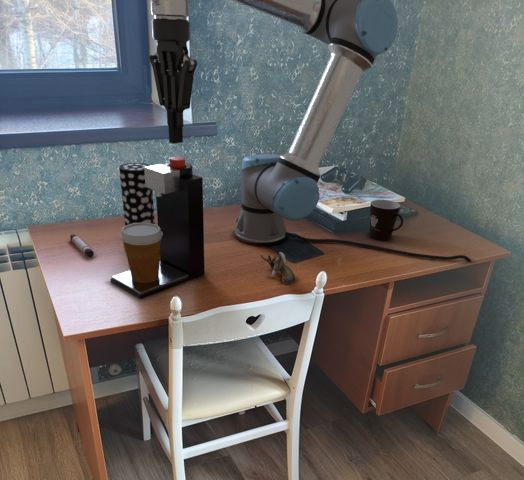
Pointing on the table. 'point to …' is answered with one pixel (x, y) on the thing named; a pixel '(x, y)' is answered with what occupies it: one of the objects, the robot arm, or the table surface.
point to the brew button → (177, 162)
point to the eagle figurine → (280, 268)
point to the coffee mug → (383, 219)
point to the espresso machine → (169, 277)
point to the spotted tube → (136, 194)
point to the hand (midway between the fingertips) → (176, 142)
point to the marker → (81, 245)
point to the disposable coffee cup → (142, 250)
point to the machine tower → (183, 225)
